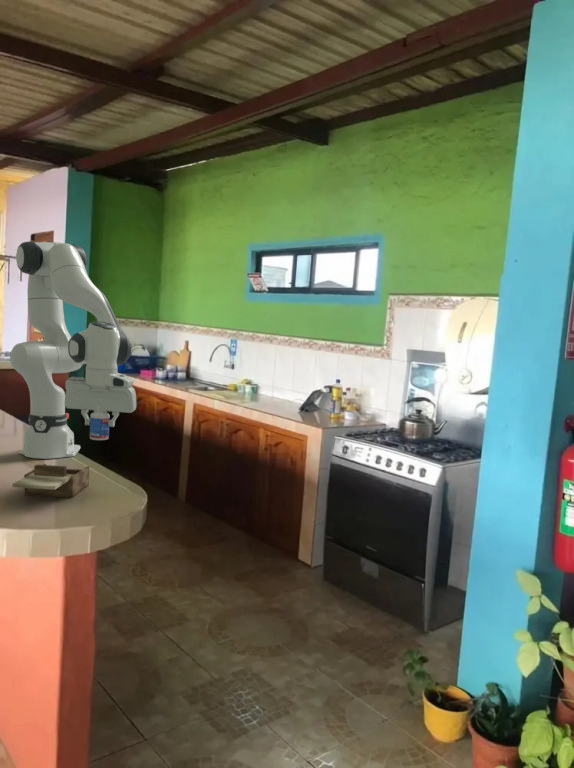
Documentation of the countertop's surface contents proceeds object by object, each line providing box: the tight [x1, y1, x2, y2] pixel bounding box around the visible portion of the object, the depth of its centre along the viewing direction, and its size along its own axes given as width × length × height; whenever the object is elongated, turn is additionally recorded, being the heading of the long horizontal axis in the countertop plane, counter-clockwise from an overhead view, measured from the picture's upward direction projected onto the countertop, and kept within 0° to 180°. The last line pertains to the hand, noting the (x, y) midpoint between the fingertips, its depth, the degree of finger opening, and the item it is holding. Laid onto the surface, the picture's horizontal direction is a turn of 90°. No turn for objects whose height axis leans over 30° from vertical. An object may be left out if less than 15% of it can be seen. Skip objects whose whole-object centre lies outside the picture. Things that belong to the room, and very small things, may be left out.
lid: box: [11, 464, 74, 490], centre depth 165 cm, size 13×11×3 cm
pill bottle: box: [89, 407, 111, 441], centre depth 185 cm, size 6×5×10 cm
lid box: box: [23, 463, 90, 499], centre depth 175 cm, size 13×13×6 cm
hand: (99, 425), depth 185 cm, fingers closed on pill bottle, 5 cm apart
